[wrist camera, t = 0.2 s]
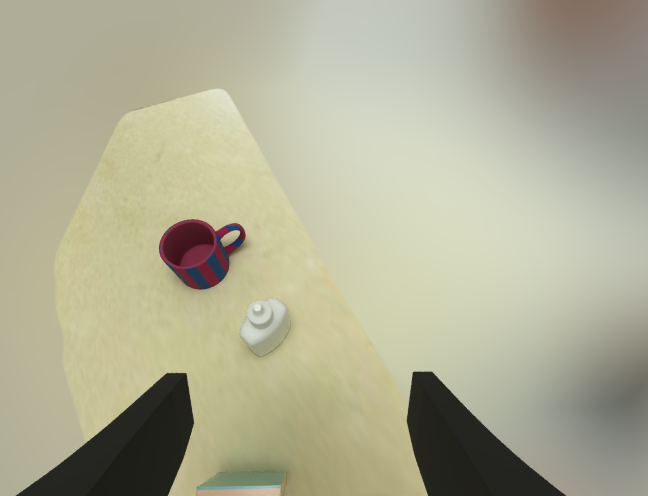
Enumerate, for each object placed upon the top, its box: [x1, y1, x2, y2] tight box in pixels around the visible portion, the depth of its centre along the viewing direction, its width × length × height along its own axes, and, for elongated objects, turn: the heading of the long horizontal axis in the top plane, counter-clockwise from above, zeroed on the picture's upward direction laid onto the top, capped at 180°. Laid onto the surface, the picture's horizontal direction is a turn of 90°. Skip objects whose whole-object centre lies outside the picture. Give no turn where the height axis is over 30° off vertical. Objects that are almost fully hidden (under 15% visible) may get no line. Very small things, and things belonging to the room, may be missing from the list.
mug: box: [159, 219, 246, 289], centre depth 43 cm, size 7×10×7 cm
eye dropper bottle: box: [239, 298, 290, 356], centre depth 36 cm, size 4×6×12 cm
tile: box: [196, 471, 286, 496], centre depth 31 cm, size 1×7×8 cm, turn 91°
